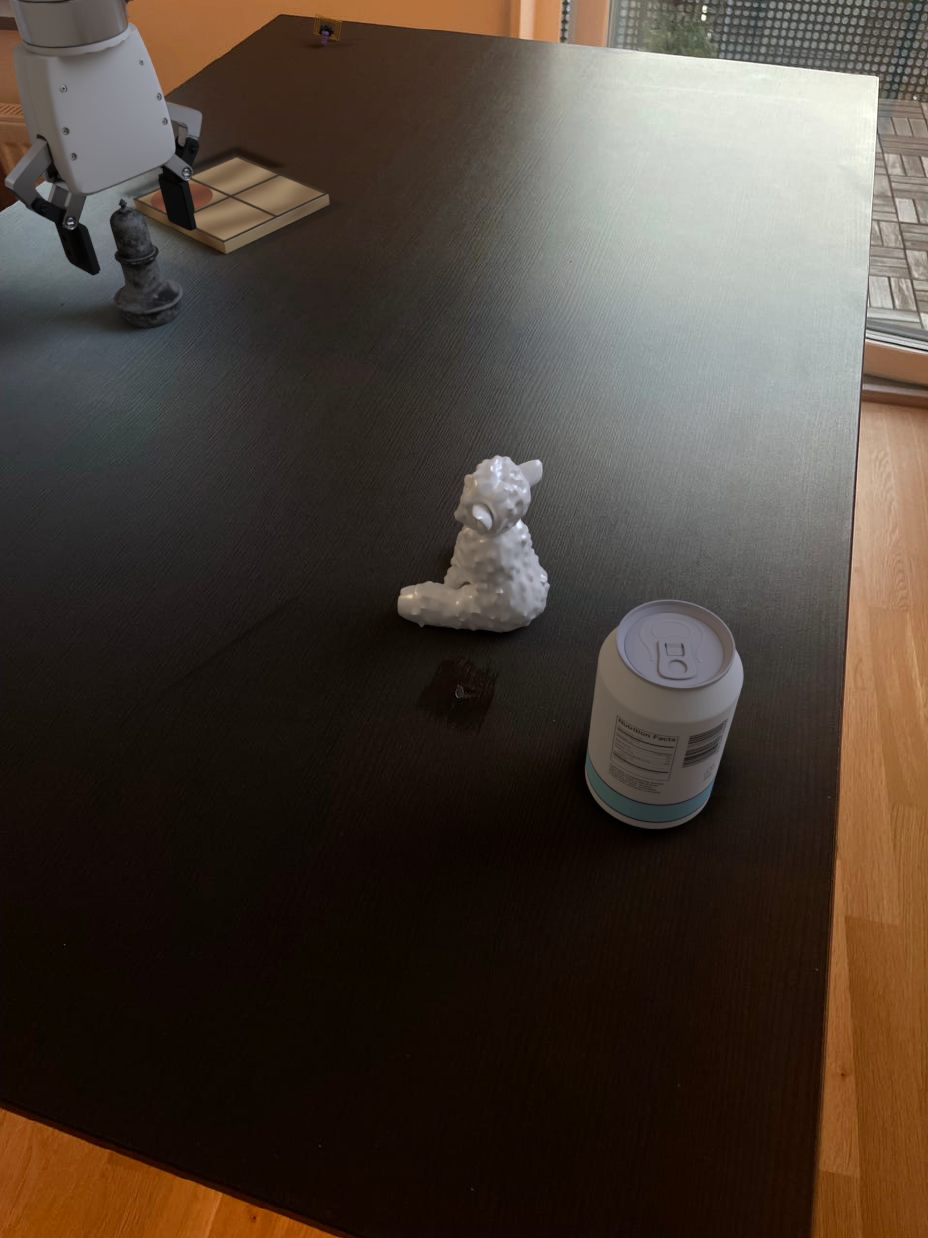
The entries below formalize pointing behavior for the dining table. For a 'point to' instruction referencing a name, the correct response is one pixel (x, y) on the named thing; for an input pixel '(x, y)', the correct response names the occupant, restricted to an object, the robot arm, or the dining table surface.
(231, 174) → the board
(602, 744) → the beverage can
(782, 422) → the dining table surface
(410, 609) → the white creature statuette
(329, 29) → the framed picture
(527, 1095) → the dining table surface
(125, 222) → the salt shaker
